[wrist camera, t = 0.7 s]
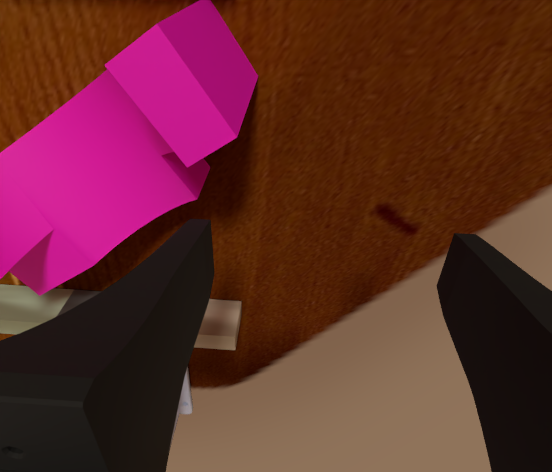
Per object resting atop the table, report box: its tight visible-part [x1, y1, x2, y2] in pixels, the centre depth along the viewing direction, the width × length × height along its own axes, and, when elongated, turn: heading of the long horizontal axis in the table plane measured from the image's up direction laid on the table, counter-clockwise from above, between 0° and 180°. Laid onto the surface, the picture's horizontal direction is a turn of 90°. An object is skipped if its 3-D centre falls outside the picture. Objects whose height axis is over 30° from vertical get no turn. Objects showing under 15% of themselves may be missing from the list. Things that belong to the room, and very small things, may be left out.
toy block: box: [0, 0, 258, 296], centre depth 18 cm, size 15×6×8 cm, turn 122°
